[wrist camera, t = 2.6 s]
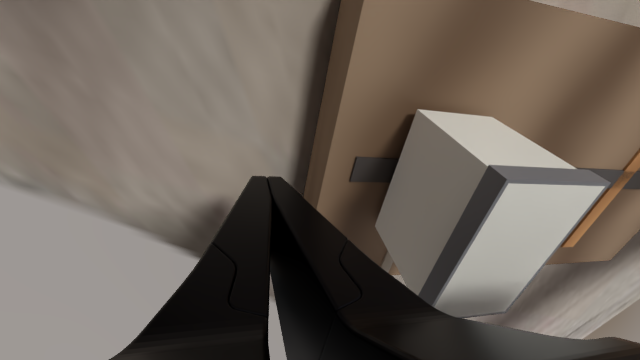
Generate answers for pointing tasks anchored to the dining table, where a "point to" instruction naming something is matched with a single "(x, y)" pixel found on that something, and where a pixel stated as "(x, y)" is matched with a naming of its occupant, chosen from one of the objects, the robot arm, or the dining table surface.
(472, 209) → the fader tab
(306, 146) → the dining table surface
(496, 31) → the fader console
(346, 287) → the robot arm
